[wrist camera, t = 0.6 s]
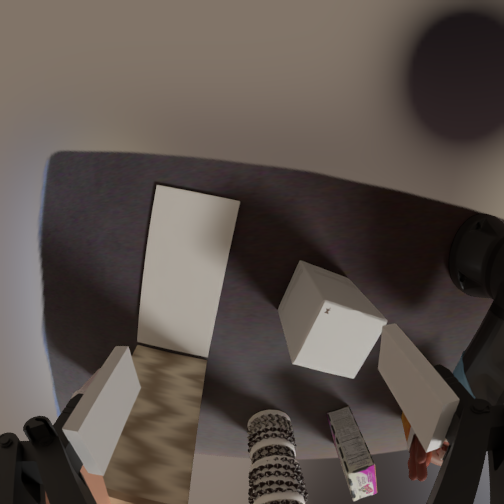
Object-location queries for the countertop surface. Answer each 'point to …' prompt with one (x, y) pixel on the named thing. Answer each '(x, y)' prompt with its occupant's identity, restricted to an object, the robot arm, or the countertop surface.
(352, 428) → the candy bar box
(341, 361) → the supplement box
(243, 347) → the countertop surface
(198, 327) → the mat
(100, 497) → the block
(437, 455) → the bucket of meat
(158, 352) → the stand
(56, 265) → the countertop surface
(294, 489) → the decorative candle
